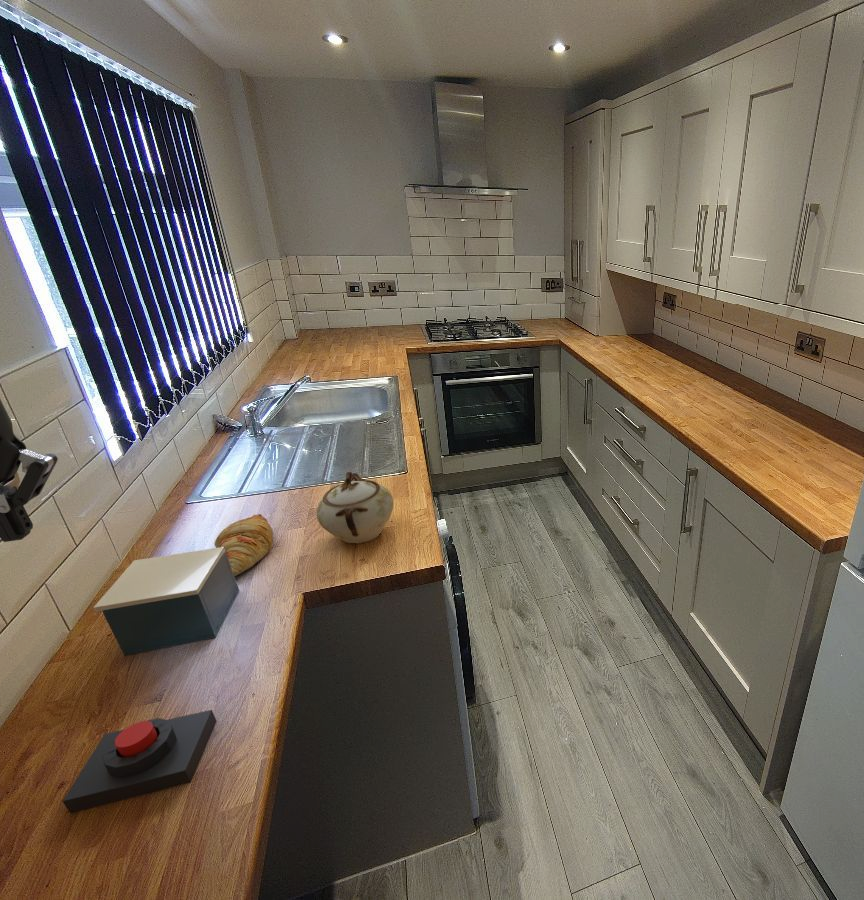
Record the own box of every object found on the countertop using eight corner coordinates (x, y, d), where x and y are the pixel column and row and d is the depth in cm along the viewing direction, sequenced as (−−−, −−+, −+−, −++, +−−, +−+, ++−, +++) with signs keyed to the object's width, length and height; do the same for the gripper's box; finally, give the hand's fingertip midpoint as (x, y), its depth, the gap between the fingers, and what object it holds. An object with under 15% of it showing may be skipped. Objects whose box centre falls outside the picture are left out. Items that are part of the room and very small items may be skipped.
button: (113, 761, 62) (108, 751, 62) (128, 735, 65) (123, 725, 65) (149, 752, 63) (144, 742, 63) (162, 727, 66) (157, 717, 66)
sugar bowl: (397, 551, 108) (384, 486, 102) (317, 566, 103) (299, 499, 97) (398, 506, 125) (387, 448, 119) (329, 517, 120) (314, 458, 114)
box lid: (95, 611, 79) (92, 607, 78) (135, 564, 90) (133, 560, 89) (198, 594, 82) (196, 590, 82) (225, 550, 93) (223, 546, 93)
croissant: (256, 592, 101) (268, 558, 100) (194, 583, 97) (205, 547, 95) (277, 534, 120) (287, 504, 118) (225, 524, 115) (235, 493, 113)
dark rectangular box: (123, 655, 82) (101, 611, 79) (159, 604, 94) (141, 563, 90) (215, 637, 86) (198, 594, 82) (239, 590, 97) (225, 550, 93)
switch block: (70, 813, 60) (55, 791, 59) (111, 745, 68) (98, 723, 67) (191, 782, 63) (179, 760, 62) (216, 720, 71) (207, 699, 70)
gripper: (-183, 413, 49) (-84, 566, 56) (-5, 398, 52) (68, 544, 59) (-111, 390, 55) (-30, 530, 62) (43, 379, 59) (104, 512, 66)
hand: (18, 537), depth 61 cm, fingers closed
